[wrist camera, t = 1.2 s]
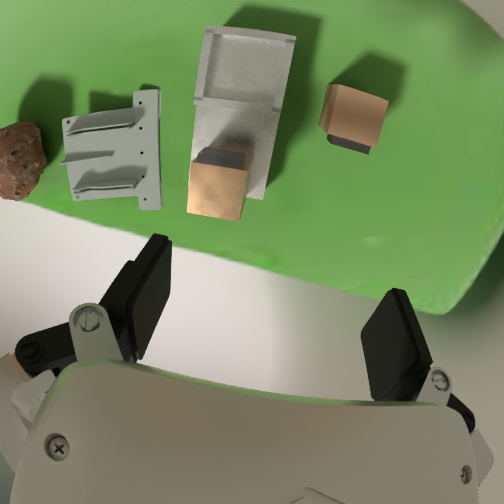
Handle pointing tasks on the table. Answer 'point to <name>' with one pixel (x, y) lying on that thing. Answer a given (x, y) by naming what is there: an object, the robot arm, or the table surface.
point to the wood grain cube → (352, 117)
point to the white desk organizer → (236, 117)
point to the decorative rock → (20, 160)
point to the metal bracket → (116, 152)
